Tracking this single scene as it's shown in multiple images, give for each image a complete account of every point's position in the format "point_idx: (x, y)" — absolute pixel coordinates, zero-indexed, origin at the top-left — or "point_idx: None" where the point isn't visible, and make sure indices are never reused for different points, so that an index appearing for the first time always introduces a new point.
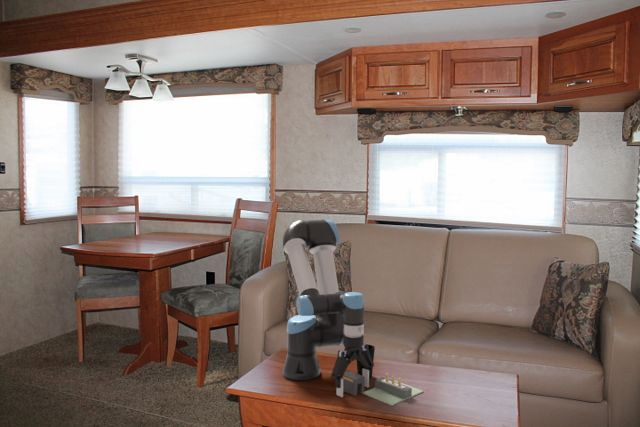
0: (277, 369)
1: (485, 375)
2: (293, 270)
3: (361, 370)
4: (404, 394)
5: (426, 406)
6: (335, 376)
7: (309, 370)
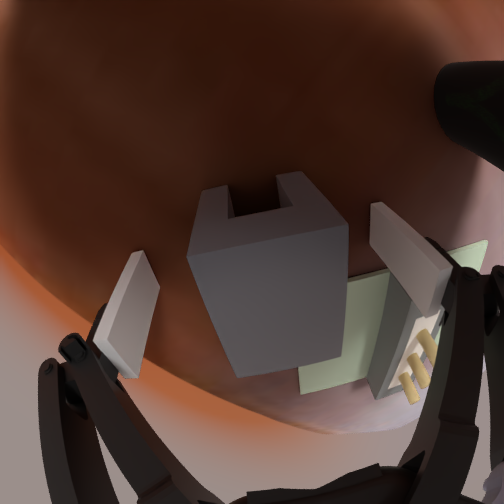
0: None
1: None
2: None
3: (474, 126)
4: (371, 390)
5: (367, 400)
6: (67, 403)
7: None
